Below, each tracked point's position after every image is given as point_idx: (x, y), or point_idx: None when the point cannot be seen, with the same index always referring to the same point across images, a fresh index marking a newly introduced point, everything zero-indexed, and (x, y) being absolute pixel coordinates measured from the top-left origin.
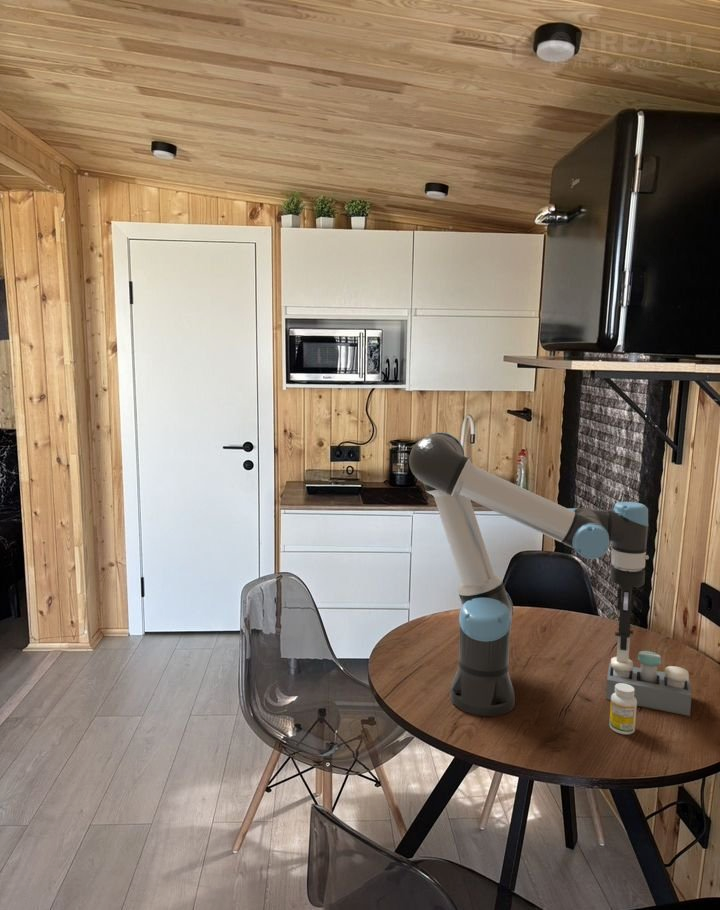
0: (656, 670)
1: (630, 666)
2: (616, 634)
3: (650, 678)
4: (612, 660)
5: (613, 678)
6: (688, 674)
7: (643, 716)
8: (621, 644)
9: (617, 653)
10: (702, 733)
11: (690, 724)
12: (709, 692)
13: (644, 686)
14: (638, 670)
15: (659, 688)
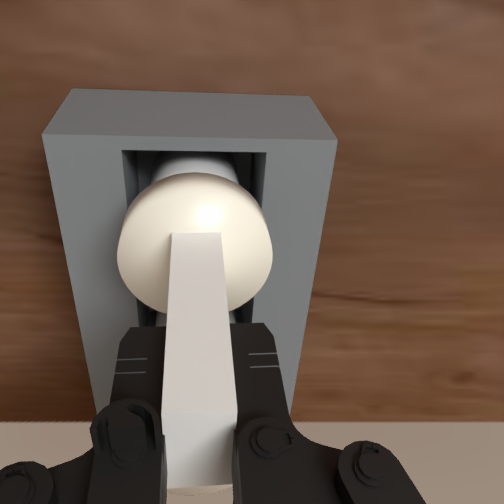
0: None
1: (152, 302)
2: (96, 432)
3: None
4: (176, 203)
5: (86, 172)
6: (186, 493)
7: (2, 252)
8: (114, 379)
9: (171, 273)
10: (10, 403)
11: (52, 379)
12: (325, 416)
13: (80, 318)
14: (273, 289)
15: (100, 368)
